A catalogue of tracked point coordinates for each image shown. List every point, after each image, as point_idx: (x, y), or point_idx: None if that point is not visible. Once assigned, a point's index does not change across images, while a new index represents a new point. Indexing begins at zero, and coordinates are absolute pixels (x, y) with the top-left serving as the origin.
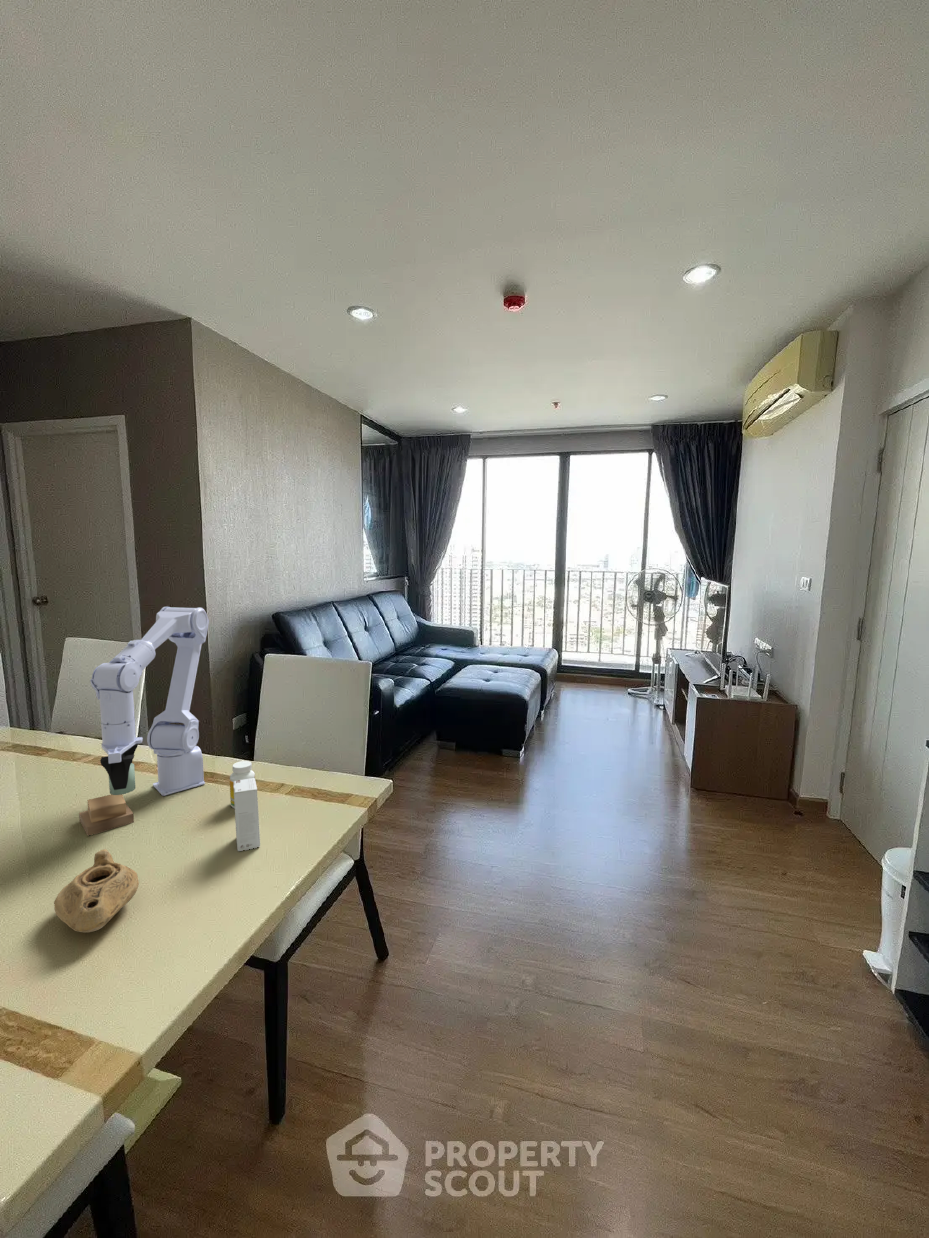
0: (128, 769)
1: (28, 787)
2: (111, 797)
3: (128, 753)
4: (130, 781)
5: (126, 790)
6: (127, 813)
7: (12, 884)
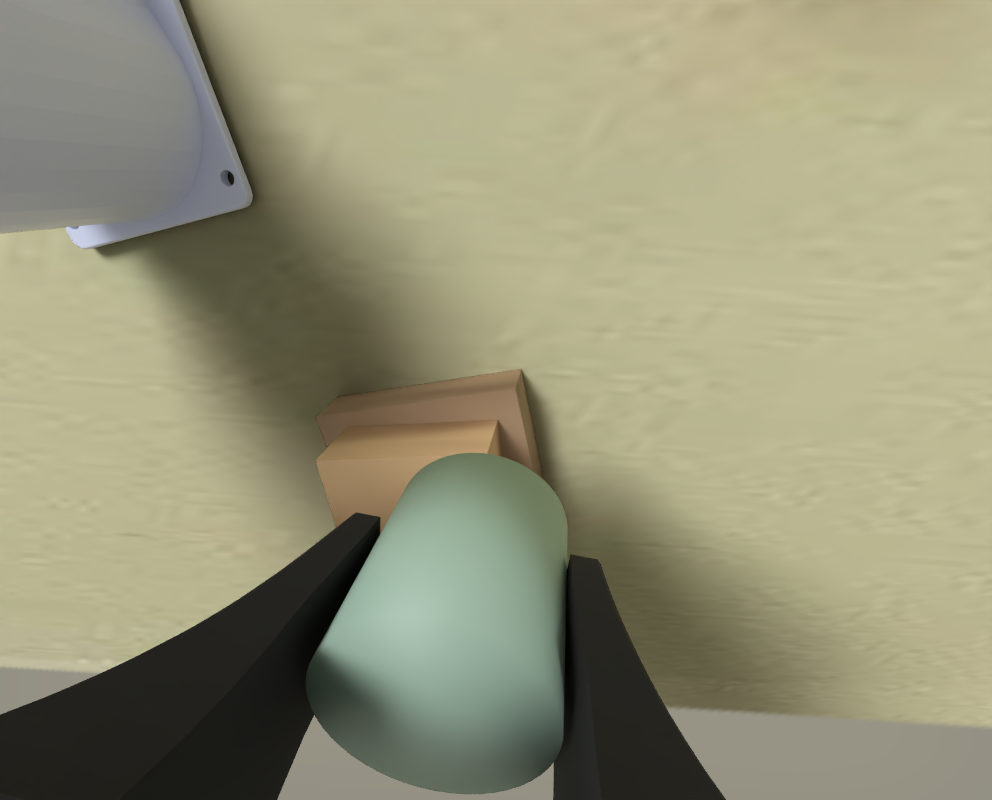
0: (691, 754)
1: (40, 638)
2: (373, 507)
3: (217, 771)
4: (542, 548)
5: (564, 529)
6: (497, 413)
7: (776, 712)
